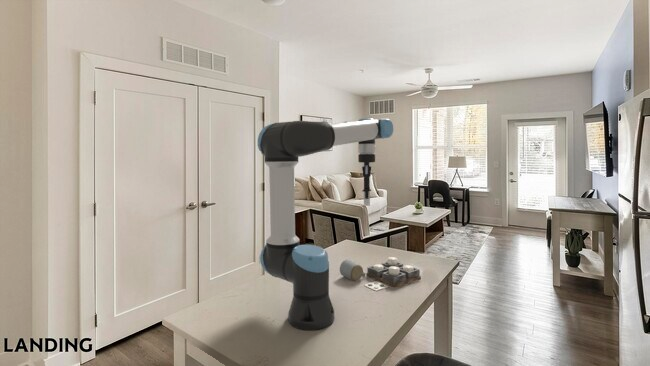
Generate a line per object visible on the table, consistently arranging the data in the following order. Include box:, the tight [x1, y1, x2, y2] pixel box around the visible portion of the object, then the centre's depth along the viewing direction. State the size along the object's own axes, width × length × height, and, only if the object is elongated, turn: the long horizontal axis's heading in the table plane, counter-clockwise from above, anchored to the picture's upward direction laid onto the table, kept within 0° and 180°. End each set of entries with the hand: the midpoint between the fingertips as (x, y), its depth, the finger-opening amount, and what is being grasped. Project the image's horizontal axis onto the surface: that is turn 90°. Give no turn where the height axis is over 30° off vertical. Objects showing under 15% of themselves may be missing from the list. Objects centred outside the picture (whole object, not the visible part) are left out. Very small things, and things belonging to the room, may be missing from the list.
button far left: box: [386, 256, 398, 266], centre depth 151 cm, size 4×4×3 cm
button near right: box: [389, 266, 400, 277], centre depth 139 cm, size 4×4×3 cm
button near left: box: [372, 263, 384, 271], centre depth 146 cm, size 4×4×3 cm
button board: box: [365, 261, 422, 289], centre depth 145 cm, size 16×17×4 cm
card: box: [363, 280, 389, 292], centre depth 136 cm, size 7×7×1 cm
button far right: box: [403, 264, 414, 272], centre depth 144 cm, size 4×4×3 cm
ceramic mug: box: [339, 258, 367, 282], centre depth 145 cm, size 11×8×8 cm
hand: (366, 205), depth 152 cm, fingers closed
